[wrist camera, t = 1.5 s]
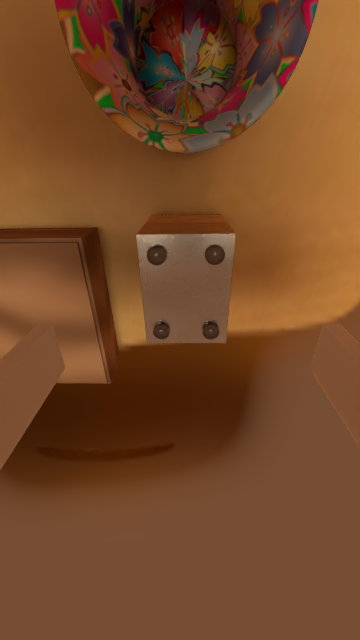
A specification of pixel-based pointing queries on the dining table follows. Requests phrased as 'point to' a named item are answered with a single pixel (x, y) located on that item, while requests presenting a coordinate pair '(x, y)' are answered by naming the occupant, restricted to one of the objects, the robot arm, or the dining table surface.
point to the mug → (185, 63)
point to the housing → (186, 277)
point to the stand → (59, 298)
